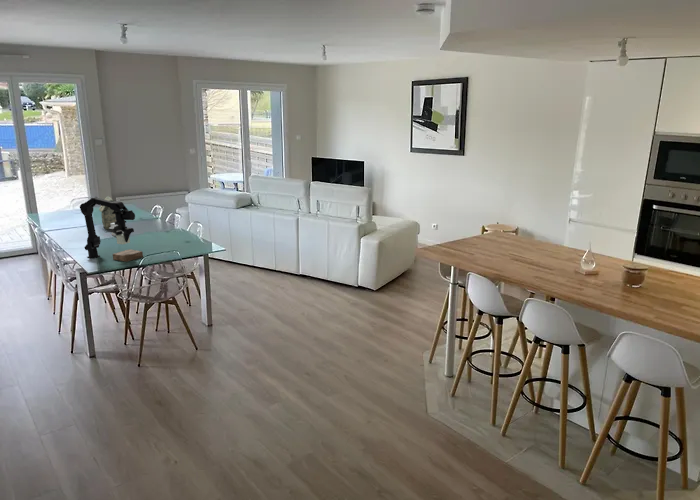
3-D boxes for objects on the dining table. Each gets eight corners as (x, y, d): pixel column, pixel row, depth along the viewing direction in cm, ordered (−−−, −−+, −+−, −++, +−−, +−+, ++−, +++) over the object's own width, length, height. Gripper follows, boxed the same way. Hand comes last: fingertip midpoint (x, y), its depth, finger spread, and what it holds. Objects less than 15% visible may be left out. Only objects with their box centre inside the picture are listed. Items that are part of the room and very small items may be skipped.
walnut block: (113, 259, 361) (112, 253, 360) (129, 254, 373) (129, 249, 372) (126, 261, 354) (125, 256, 353) (143, 256, 366) (142, 251, 365)
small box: (120, 233, 440) (119, 221, 437) (124, 234, 437) (122, 222, 434) (111, 235, 434) (109, 223, 432) (114, 236, 431) (113, 224, 428)
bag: (100, 225, 472) (96, 196, 465) (119, 223, 480) (115, 195, 473) (103, 230, 454) (99, 200, 446) (123, 228, 462) (119, 198, 455)
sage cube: (117, 243, 359) (116, 235, 357) (124, 241, 364) (123, 233, 362) (122, 244, 356) (121, 236, 354) (130, 242, 361) (128, 234, 359)
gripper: (101, 221, 353) (105, 243, 357) (118, 223, 344) (122, 245, 348) (115, 218, 363) (118, 239, 367) (132, 220, 354) (136, 241, 358)
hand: (123, 241), depth 360 cm, fingers closed on sage cube, 6 cm apart
